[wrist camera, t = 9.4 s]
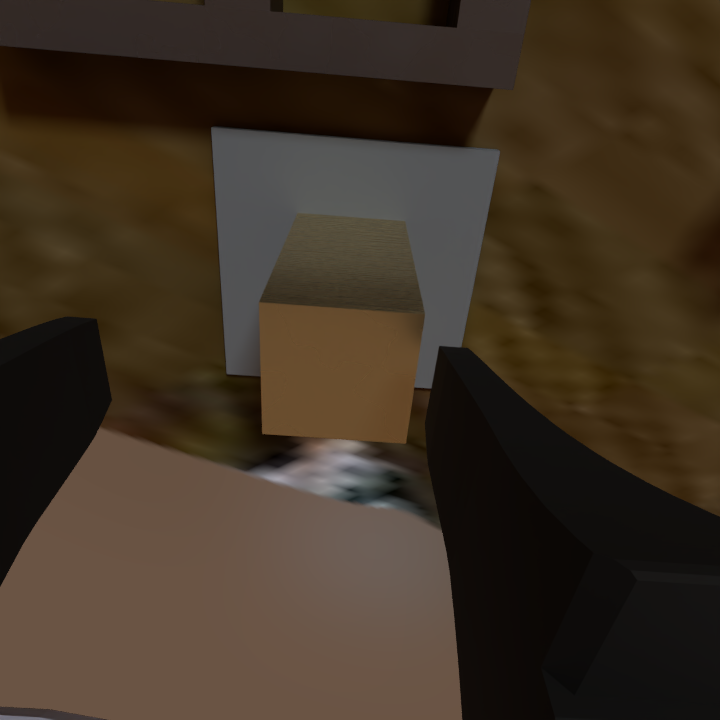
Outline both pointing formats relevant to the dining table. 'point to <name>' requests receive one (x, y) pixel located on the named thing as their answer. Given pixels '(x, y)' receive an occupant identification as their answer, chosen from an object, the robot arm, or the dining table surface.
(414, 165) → the mat
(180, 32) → the double cubby frame
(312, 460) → the dining table surface
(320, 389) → the tan rectangular block
